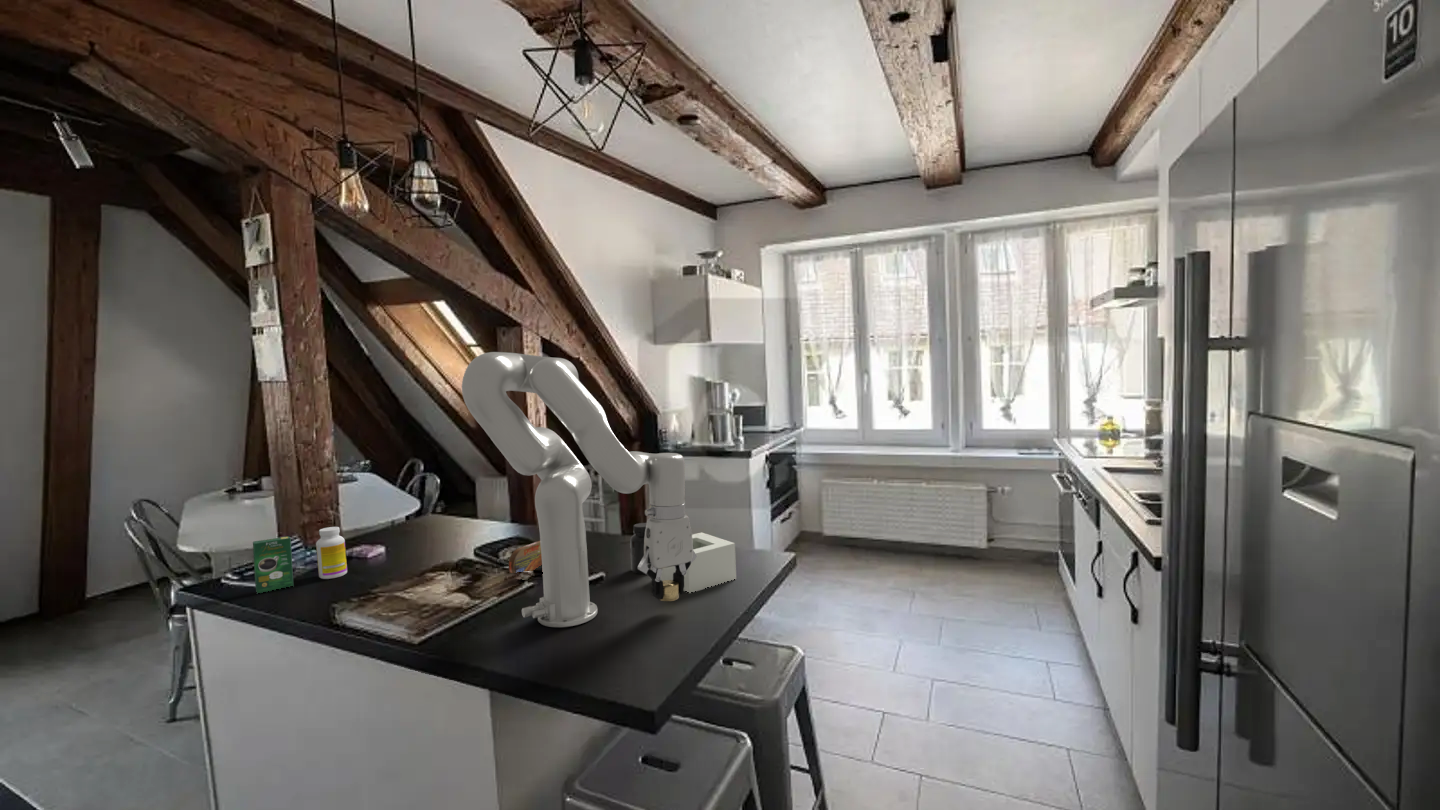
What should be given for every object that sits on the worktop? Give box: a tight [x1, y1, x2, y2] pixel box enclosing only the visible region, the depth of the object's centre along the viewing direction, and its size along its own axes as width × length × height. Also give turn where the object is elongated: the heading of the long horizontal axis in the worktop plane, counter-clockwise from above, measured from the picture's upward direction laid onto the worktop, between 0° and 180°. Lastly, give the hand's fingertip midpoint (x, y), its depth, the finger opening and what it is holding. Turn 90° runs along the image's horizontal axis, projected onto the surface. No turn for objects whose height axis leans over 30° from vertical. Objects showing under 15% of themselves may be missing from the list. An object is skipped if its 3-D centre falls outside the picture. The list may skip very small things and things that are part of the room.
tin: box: [508, 540, 542, 574], centre depth 168 cm, size 15×3×8 cm, turn 148°
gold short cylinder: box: [660, 580, 680, 602], centre depth 139 cm, size 5×5×3 cm
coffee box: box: [252, 535, 295, 595], centre depth 164 cm, size 8×3×13 cm, turn 129°
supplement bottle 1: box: [315, 526, 348, 580], centre depth 174 cm, size 7×7×13 cm
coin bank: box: [661, 531, 737, 594], centre depth 160 cm, size 14×14×9 cm
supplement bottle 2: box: [629, 522, 651, 575], centre depth 168 cm, size 7×7×12 cm
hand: (668, 594), depth 139 cm, fingers closed on gold short cylinder, 4 cm apart
